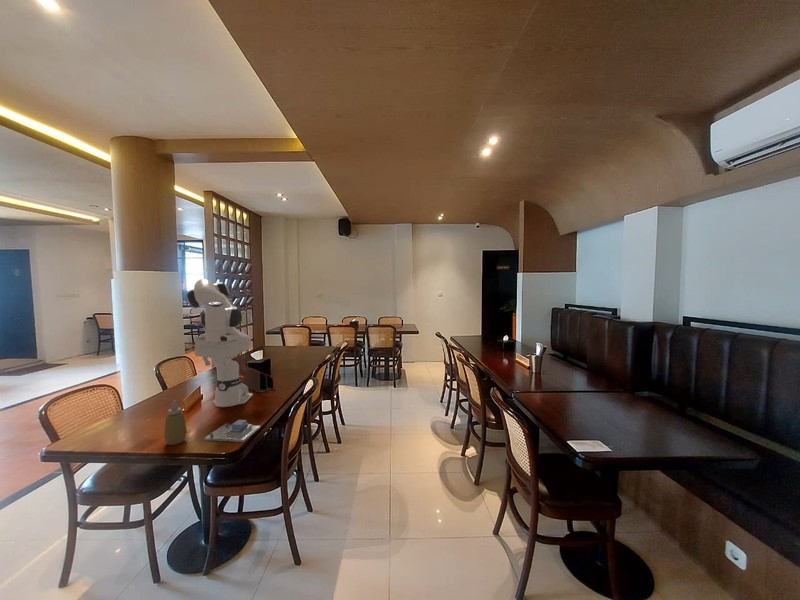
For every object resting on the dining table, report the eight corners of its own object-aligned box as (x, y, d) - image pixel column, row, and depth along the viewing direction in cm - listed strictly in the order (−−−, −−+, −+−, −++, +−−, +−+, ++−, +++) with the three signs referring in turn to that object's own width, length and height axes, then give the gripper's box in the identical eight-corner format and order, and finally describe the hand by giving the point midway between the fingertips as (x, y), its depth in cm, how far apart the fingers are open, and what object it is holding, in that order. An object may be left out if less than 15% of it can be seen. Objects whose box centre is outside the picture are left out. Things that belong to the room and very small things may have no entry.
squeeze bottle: (171, 438, 145) (170, 397, 144) (191, 437, 145) (189, 397, 145) (159, 447, 137) (158, 404, 136) (180, 446, 137) (178, 403, 136)
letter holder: (259, 393, 205) (258, 371, 205) (244, 387, 218) (243, 366, 217) (274, 389, 213) (273, 368, 212) (258, 384, 225) (258, 363, 225)
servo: (240, 428, 152) (240, 418, 152) (248, 428, 152) (248, 418, 152) (230, 435, 145) (229, 425, 145) (238, 435, 144) (238, 425, 144)
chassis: (224, 426, 156) (223, 420, 156) (260, 427, 155) (260, 422, 155) (204, 440, 143) (203, 434, 142) (243, 441, 141) (243, 435, 141)
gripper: (190, 337, 153) (191, 366, 154) (232, 337, 151) (233, 367, 152) (200, 335, 159) (201, 363, 160) (240, 335, 158) (241, 364, 158)
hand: (217, 365), depth 156 cm, fingers open, 8 cm apart
